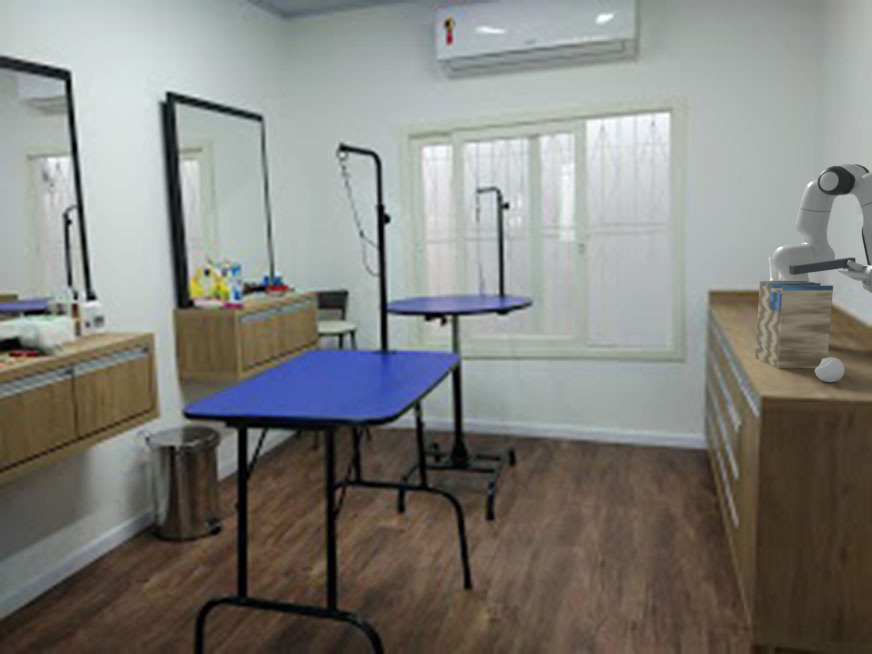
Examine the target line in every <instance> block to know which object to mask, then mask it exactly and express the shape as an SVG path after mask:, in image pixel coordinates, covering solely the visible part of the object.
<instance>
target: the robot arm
mask: <svg viewBox="0 0 872 654" xmlns="http://www.w3.org/2000/svg"><path fill="white" fill-rule="evenodd" d="M848 195H854V196H855V197H856V199H857V201H858V204H859V207H860V209H861V213H862V218H863V219H862V220H863V222H862V223H863V224H862V228H861V238H862V243H863V248H864V254H865V259H866V263H867V264H861V263H858V262H856V263H855V262H853V261H851V260H847V261H846V263H845V264H846V265H847V266H849V267H848V268H841V269H837V270H838V272H839V273H841V274H842V275H844V276H845V277H849V279H853V280H854V281H858V282H859V281H860V282H861V284H862V287H863V289H864V290H866V292H868V293H870V294H872V171H871V172H870V170H869V169H868V168H867V167H865V166H864V165H862V164H855V163H853V164H851V163H850V164H849V163H848V164H841V165H833V166H829V167H826V168H825V169H824V170H822V171H821V172H820V174H819V175H818V177H817V179H814V180H812V181H810V182H808V183H807V185H806V186H805V188H804V191H803V193H802V196H801V199H800V203H799V207H798V211H797V215H796V220H795V225H794V226H795V227H794V228H795V229H796V231H797V232H798V233H800V234H801V243H798V244H797V243H796V244H795V243H793V244H786V245H782V246H780V247H777V248H776V249H775V250H774V251H773V254H772V256H771V257H772V263H773V265H774V267H775V268H776V269H777V270H778V271H779V272H780V274H781V275H782V277H783V280H784V281H807V282H811V281H810V278H809V273H804V274H796V275H792V274H790V273H789V266H790V265H797V264H805V263H812V262H819V261H827V260H834V259H836V254H835V250H834V249H833V247H831V245H830V244H829V241H828V226H829V221H830V218H831V212H832V209H833V204H834V201H835V199H836V198H837V197H838V196H848Z"/></svg>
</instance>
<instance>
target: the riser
mask: <svg viewBox="0 0 872 654" xmlns="http://www.w3.org/2000/svg"><path fill="white" fill-rule="evenodd" d="M821 284H822V283H821V282H820V283H819V282H815V281H810V282H807V281H770V280H759V292H758V303H757V304H758V306H757V307H758V308H757V321H756V323H757V324H756V341H755V357H756V358H755V359H757V358H758V359H757V360H759V359H760V361H761V360H762V362H764V361H765V362H764V363H766V362H767V363H766V364H768V363H769V364H768V365H770V364H771V365H770V366H772V365H773V366H772V367H774V366H775V367H774V368H776V367H778V368H777V369H816V368H817V367H818V366H819V365H820V363H821V361H822V360H821V359H824V358H829V345H830V334H831V318H832V308H833V307H832V306H833V296H834V294H833V293H834V285H832V284H831V285H827V284H826V285H821Z"/></svg>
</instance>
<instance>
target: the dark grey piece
mask: <svg viewBox="0 0 872 654" xmlns="http://www.w3.org/2000/svg"><path fill="white" fill-rule="evenodd" d="M847 260H851V261H853V262H855V263H857V262H856V257H844V258H843V257H842V258H835V259H834V260H827V261H819V262H812V263H805V264H797V265H790V266H789V273H790V274H792V275H796V274H804V273H808V274H810V273H811V274H812V273H817V272H826V271H832V270H838V269H841V268H848V267H849V266H847V265H846V264H845V263H846V261H847Z"/></svg>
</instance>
